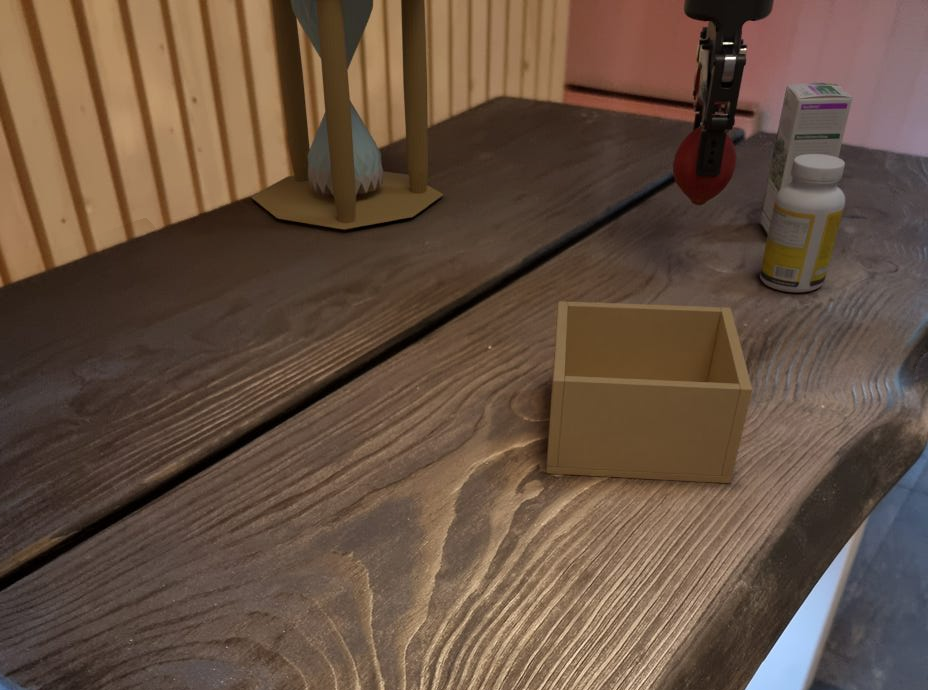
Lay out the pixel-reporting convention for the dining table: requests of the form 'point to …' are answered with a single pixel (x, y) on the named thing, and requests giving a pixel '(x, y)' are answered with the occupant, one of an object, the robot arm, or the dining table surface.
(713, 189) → the onion
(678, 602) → the dining table surface
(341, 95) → the hourglass
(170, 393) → the dining table surface
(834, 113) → the syrup box
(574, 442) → the open wooden box
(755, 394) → the dining table surface
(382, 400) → the dining table surface
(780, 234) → the pill bottle
